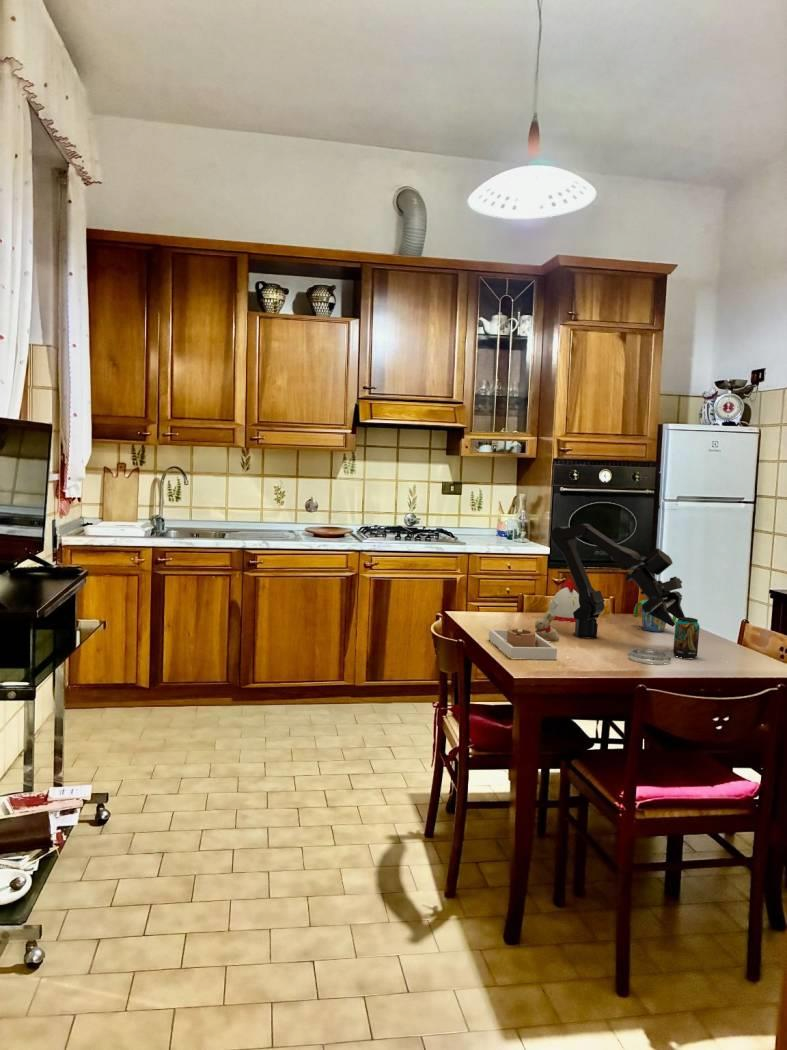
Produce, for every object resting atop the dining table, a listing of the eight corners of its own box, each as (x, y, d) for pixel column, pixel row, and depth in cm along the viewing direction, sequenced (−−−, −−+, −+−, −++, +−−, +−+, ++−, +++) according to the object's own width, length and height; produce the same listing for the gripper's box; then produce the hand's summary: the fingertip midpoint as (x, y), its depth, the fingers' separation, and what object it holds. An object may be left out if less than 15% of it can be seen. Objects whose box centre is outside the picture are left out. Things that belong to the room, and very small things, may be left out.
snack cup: (681, 633, 275) (683, 605, 274) (663, 636, 269) (665, 607, 268) (644, 624, 287) (646, 597, 287) (626, 627, 281) (628, 599, 280)
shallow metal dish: (638, 664, 226) (639, 658, 226) (620, 654, 238) (620, 647, 238) (678, 665, 228) (678, 658, 228) (657, 654, 240) (658, 648, 240)
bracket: (533, 658, 228) (534, 635, 227) (504, 655, 230) (506, 633, 229) (535, 645, 245) (537, 624, 245) (509, 642, 247) (510, 621, 247)
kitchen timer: (556, 622, 284) (559, 582, 283) (541, 614, 298) (544, 576, 296) (591, 622, 287) (594, 582, 286) (575, 614, 301) (578, 576, 299)
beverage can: (680, 659, 235) (684, 621, 234) (668, 654, 242) (671, 616, 241) (701, 659, 237) (704, 621, 236) (688, 653, 243) (691, 616, 242)
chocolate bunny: (535, 637, 256) (537, 607, 255) (559, 640, 254) (561, 610, 253) (533, 641, 251) (535, 610, 250) (558, 643, 249) (560, 613, 248)
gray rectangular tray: (510, 659, 225) (511, 647, 224) (488, 640, 248) (489, 629, 248) (556, 660, 227) (557, 648, 227) (530, 640, 250) (530, 630, 250)
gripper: (654, 570, 235) (687, 611, 229) (678, 566, 249) (710, 605, 243) (628, 592, 241) (660, 633, 235) (652, 587, 255) (683, 625, 249)
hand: (679, 623), depth 240 cm, fingers open, 9 cm apart
